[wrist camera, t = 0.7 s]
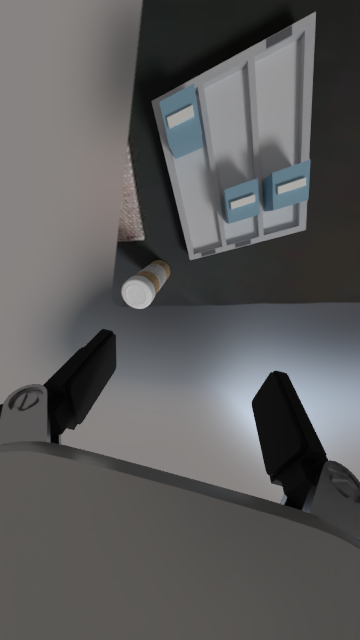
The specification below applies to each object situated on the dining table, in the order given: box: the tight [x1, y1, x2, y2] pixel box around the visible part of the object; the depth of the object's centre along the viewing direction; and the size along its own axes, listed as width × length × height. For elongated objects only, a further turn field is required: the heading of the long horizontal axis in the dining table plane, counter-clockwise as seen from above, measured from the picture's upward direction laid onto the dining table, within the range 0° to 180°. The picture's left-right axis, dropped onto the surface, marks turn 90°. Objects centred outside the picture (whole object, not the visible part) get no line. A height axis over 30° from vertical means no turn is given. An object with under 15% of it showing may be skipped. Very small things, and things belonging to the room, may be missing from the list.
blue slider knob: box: [223, 178, 260, 224], centre depth 25 cm, size 4×4×5 cm
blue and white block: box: [159, 84, 203, 159], centre depth 22 cm, size 4×4×5 cm
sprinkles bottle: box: [122, 260, 170, 309], centre depth 30 cm, size 5×5×13 cm
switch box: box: [151, 12, 316, 260], centre depth 25 cm, size 18×20×3 cm
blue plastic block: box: [263, 160, 310, 212], centre depth 23 cm, size 4×4×5 cm
